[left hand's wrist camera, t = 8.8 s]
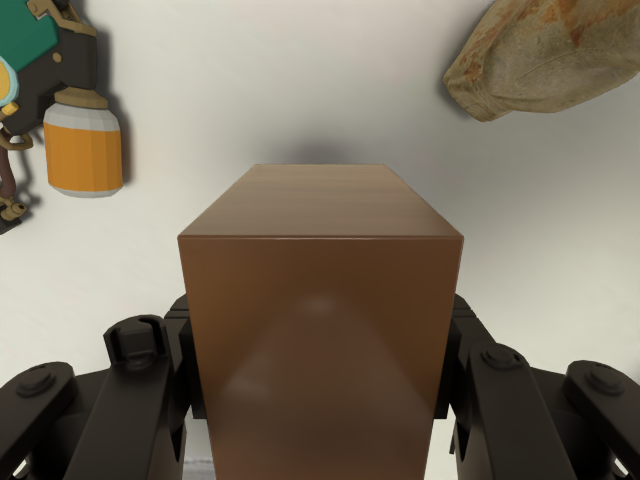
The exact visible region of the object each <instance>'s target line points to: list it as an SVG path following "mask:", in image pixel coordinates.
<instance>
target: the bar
mask: <svg viewBox="0 0 640 480" xmlns="http://www.w3.org/2000/svg"><path fill="white" fill-rule="evenodd" d="M177 240H178V246H179V252H180V258H181V264H182V270H183V277H184V283H185V289H186V295H187V301H188V308H189V314H190V320H191V326H192V332H193V338H194V345H195V351H196V357H197V363H198V369H199V376H200V382H201V388H202V394H203V400H204V406H205V413H206V419H207V425H208V431H209V437H210V444H211V450H212V456H213V462H214V468H215V474H216V480H424V475H425V469H426V463H427V457H428V451H429V445H430V439H431V434H432V428H433V422H434V416H435V410H436V404H437V398H438V392H439V386H440V380H441V374H442V368H443V362H444V356H445V350H446V344H447V338H448V332H449V326H450V320H451V314H452V308H453V302H454V296H455V290H456V284H457V278H458V272H459V266H460V261H461V255H462V249H463V243H464V236H463V235H462V234H461V233H460V232H459V231H457V230H456V229H455V228H454V227H453V226H452V225H451V224H450V223H449V222H448V221H447V220H445V219H444V218H443V217H442V216H441V215H440V214H439V213H438V212H437V211H436V210H434V209H433V208H432V207H431V206H430V205H429V204H428V203H427V202H426V201H425V200H423V199H422V198H421V197H420V196H419V195H418V194H417V193H416V192H415V191H414V190H413V189H411V188H410V187H409V186H408V185H407V184H406V183H405V182H404V181H403V180H402V179H400V178H399V177H398V176H397V175H396V174H395V173H394V172H393V171H392V170H391V169H389V168H388V167H387V166H386V165H385V164H255V165H254V166H253V167H252V168H251V169H250V170H248V171H247V172H246V173H245V174H244V175H243V176H242V177H241V178H240V179H239V180H238V181H237V182H235V183H234V184H233V185H232V186H231V187H230V188H229V189H228V190H227V191H226V192H225V193H224V194H222V195H221V196H220V197H219V198H218V199H217V200H216V201H215V202H214V203H213V204H212V205H211V206H209V207H208V208H207V209H206V210H205V211H204V212H203V213H202V214H201V215H200V216H199V217H198V218H196V219H195V220H194V221H193V222H192V223H191V224H190V225H189V226H188V227H187V228H186V229H185V230H183V231H182V232H181V233H180V234H179V235H178V237H177Z"/></svg>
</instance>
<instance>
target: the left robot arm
mask: <svg viewBox="0 0 640 480" xmlns="http://www.w3.org/2000/svg"><path fill="white" fill-rule="evenodd" d="M103 337H104V341H105V344H106V348H107V351H108V355H109V358H110V362H111V366H110V368H109V369H105V370H101V371H97V372H92V373H88V374H83V375H78V376H75V374H74V371H73V368H72V366H70V365H69V364H68V363H65V362H50V363H44V364H41V365H38V366H34V367H32V368H30V369H28V370H26V371H24V372H22V373H20V374H18V375H17V376H15V377H14V378H12V379H11V380H10V381H8V382H7V383H6V384H5V385H4V386H3V387H1V388H0V480H182V473H183V463H184V454H185V444H186V434H187V432H186V425H185V420H184V418H185V416H186V414H187V411H188V409H189V407H190V405H191V407H192V413H193V418H194V419H206V413H205V406H204V400H203V394H202V388H201V382H200V376H199V369H198V363H197V357H196V351H195V345H194V338H193V332H192V326H191V320H190V314H189V308H188V301H187V295H186V294H184V295H183V296H182V297H180V298H179V299H177V300H176V301H175V303H174V304H173V305H172V307H171V308H170V311H168V312H167V314H166V315H165V316H164V319H163V318H161V317H160V316H156V315H138V316H134V317H130V318H127V319H125V320H122V321H120V322H118V323H116V324H115V325H113V326H112V327H110V328H109V329H108V330H107V331H106V332H105V334H104V335H103ZM449 403H450V405H451V407H452V409H453V412H454V414H455V416H456V420H455V425H454V430H453V435H452V440H451V445H450V452H449V454H454V451H455V453H456V462H457V472H458V480H640V386H639V385H638V384H637V383H636V382H635V381H633V380H632V379H631V378H629V377H628V376H626V375H625V374H624V373H622V372H620V371H618V370H616V369H614V368H612V367H610V366H608V365H605V364H602V363H598V362H594V361H586V360H580V361H574V362H572V363H571V364H570V365H569V366H568V369H567V372H566V375H564V374H559V373H555V372H550V371H545V370H541V369H537V368H533V367H530V365H529V363H528V362H527V361H526V359H525V358H524V356H522V355H521V354H520V353H518V352H517V351H516V350H514V349H512V348H510V347H508V346H506V345H503V344H499V343H496V342H495V340H494V339H493V338H492V336H491V335H490V333H489V332H488V331H487V329H486V328H485V327H484V325H483V324H482V323H481V321H480V320H479V319H478V318H477V317H476V315H475V313H474V312H473V311H472V310H471V308H470V306H469V305H468V304H467V302H466V301H465V300H464V298H462V297H461V296H459V295H458V294H456V293H455V296H454V302H453V308H452V314H451V320H450V326H449V332H448V338H447V344H446V350H445V356H444V362H443V368H442V374H441V380H440V386H439V392H438V398H437V404H436V410H435V416H434V419H447V414H448V408H449ZM616 458H617V459H618V460H619V461H620V463H621V464H622V465H623V466H624V467H625V469H626V470H627V471H628V472H629V473H628V474H627V475H625V474H624V473H623V472H622V471H621V470H620V469H619V467H618V466H617V465H616V464H615V460H616ZM24 459H25V461H26V463H27V464H26V465H25V466H24V467H23V469H22V470H21V471H20V472H19V473H18V474H17V475H16V476H15V477H14V476H13V473H14V472H15V470H16V469H17V468H18V467H19V465H20V464H21V463H22V462H23V460H24Z"/></svg>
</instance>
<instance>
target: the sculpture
mask: <svg viewBox="0 0 640 480" xmlns="http://www.w3.org/2000/svg"><path fill="white" fill-rule="evenodd" d="M639 71H640V0H496V2H495V3H494V4H493V5H492V6H491V7H490V8H489V9H488V11H487V12H486V13H485V14H484V16H483V17H482V19H481V20H480V22H479V23H478V25H477V26H476V28H475V29H474V31H473V33H472V34H471V36H470V37H469V39H468V41H467V42H466V44H465V46H464V47H463V49H462V51H461V52H460V54H459V56H458V57H457V58H456V60H455V61H454V62H453V64H452V65H451V67H450V68H449V69H448V70H447V72H446V73H445V75H444V77H443V83H444V85H445V86H446V87H447V90H448V92H449V94H450V95H451V96H452V98H453V99H454V100H455V101H456V102H457V103H458V104H459V105H460V106H461V107H462V108H463V109H464V110H465V111H466V112H467V113H469V114H470V115H471V116H472V117H474V118H475V119H477V120H479V121H481V122H486V121H492V120H494V119H497V118H499V117H501V116H503V115H505V114H508V113H509V112H511V111H513V110H516V111H525V112H538V113H555V112H559V111H562V110H565V109H568V108H570V107H573V106H575V105H577V104H580V103H582V102H585V101H587V100H589V99H592V98H594V97H596V96H599V95H601V94H603V93H605V92H607V91H609V90H612V89H614V88H616V87H618V86H620V85H622V84H624V83H625V82H627V81H629V80H630V79H632V78H633V77H634V76H635V75H636V74H637V73H638V72H639Z"/></svg>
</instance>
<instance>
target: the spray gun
mask: <svg viewBox="0 0 640 480" xmlns="http://www.w3.org/2000/svg"><path fill="white" fill-rule="evenodd" d="M69 17H70V18H71V19H72V21H70V20H67V19H68V18H69ZM73 30H74V32H73ZM95 37H97V34H96V29H95V28H93V27H90V26H87V25H85V24H83V23H82V22H81V20H80V19H79V17H78V15H77V14H76V12H75V11H74V9H73V7H72V6H71V4H70V3H69V0H0V122H2V124H3V128H1V130H0V176H1V178H2V181H3V187H0V235H1V234H4V233H5V232H7V231H9V230H11V229H12V228H14V227H16V226H17V225H19V224H21V223H22V221H21V220H20V219H19V218H18V217H19V216H21V215H23V214H24V213H25V211H26V210H27V208H26V206H25V205H24V204H23V203H15V202H14V201H13V200H12V198H13V194H14V192H15V189H16V184H15V179H14V176H13V173H12V170H11V168H10V164H9V159H8V150H20V151H21V150H26V149H29V148H32V147H33V140H32V138H31V137H30V135H29V134H28V133H27V132H28V131H30V130H31V129H33V128H34V127H36V126H37V125H39V124H40V123H42V122H43V124H44V136H45V148H46V159H47V171H48V183H49V184H50V186H52V187H53V188H55V189H56V190H58V191H59V192H61V193H63V194H64V195H68V196H71V197H79V198H101V197H109V196H112V195H114V194H115V193H116V192H118V191H119V190H120V189H121V188H122V186H123V182H122V158H121V135H120V127H119V124H118V121H117V118H116V117H115V116H114V115H113V114H112V113H111V112H110V111H109V110H107V108H108V101H107V100H106V99H105V98H103V97H102V96H100V95H98V94H97V93H96V92H95V91H94V90H95V86H96V48H97V39H96V38H95ZM65 85H67V86H69V87H67V88H66V89H64V90H61V91H59V90H60V89H61V88H63V87H64V86H65ZM57 91H58V92H57ZM53 94H55V101H57V102H56V103H55V104H54V105H52V106H51V107H50V108H49V104H50V99H51V96H52V95H53ZM18 135H20V137H21V138H22V139H23V140H24V143H10V142H9V141H10V139H11V138H12V137H13V136H18Z"/></svg>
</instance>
